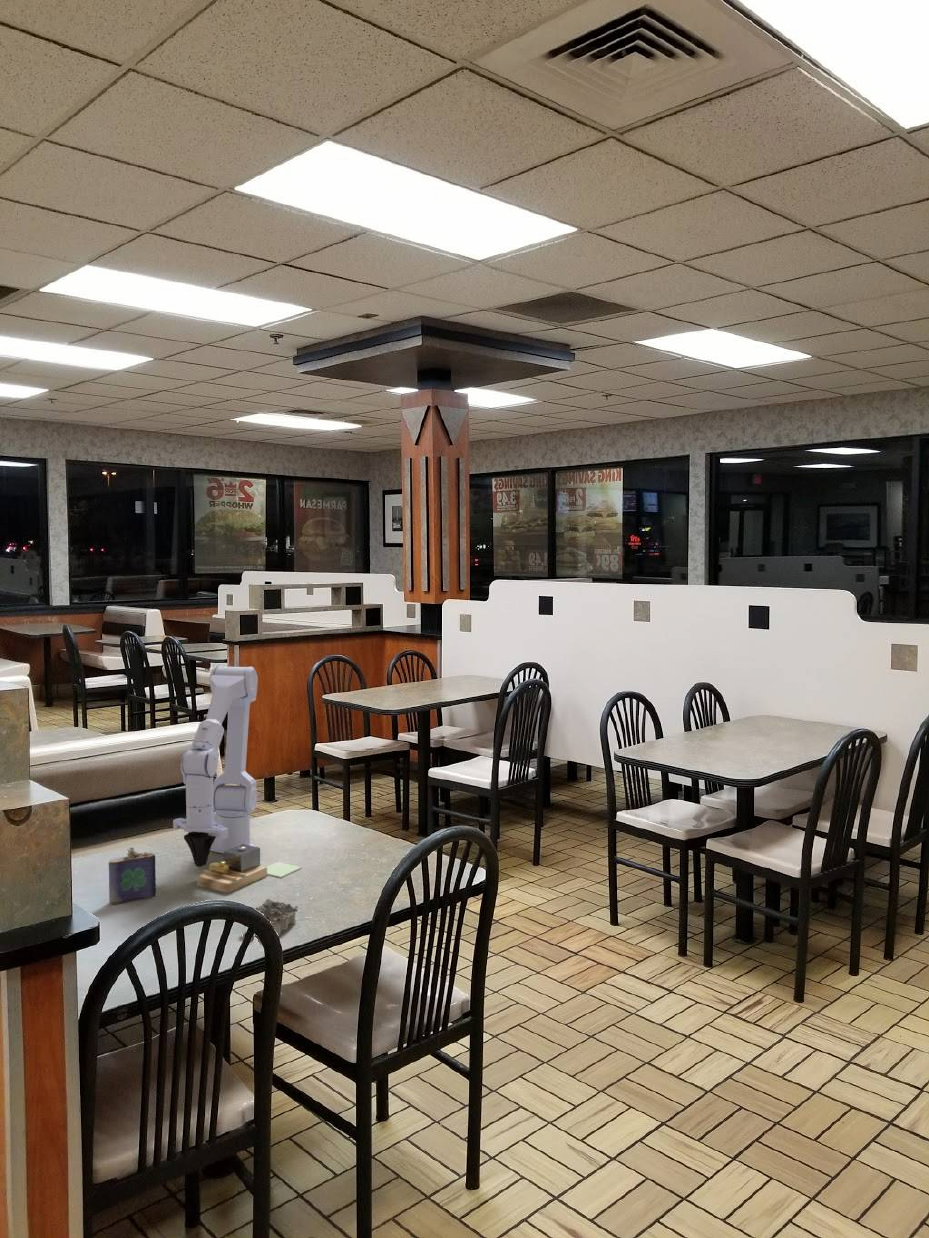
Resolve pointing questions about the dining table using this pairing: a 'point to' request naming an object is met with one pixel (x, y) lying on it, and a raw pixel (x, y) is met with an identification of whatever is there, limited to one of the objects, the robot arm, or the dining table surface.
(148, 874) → the flask
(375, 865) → the dining table surface
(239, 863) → the metal box with knob
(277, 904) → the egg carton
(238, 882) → the wooden tray with rails
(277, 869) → the mat
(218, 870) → the bolt
